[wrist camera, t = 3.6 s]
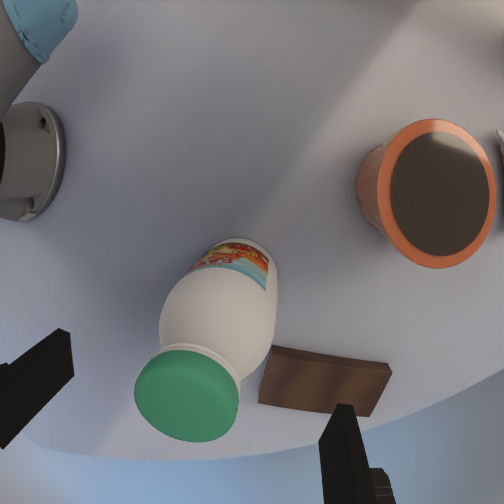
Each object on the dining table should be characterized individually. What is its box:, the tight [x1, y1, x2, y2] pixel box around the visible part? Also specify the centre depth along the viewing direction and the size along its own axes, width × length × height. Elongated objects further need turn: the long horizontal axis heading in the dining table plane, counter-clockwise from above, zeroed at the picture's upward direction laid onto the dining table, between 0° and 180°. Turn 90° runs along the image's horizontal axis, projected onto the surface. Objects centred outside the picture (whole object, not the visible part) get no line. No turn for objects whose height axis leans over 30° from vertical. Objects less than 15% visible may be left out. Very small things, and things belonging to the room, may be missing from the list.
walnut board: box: [258, 345, 392, 417], centre depth 32 cm, size 14×7×2 cm, turn 79°
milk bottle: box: [134, 238, 278, 442], centre depth 21 cm, size 8×8×20 cm
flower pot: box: [356, 119, 496, 268], centre depth 23 cm, size 11×11×9 cm
